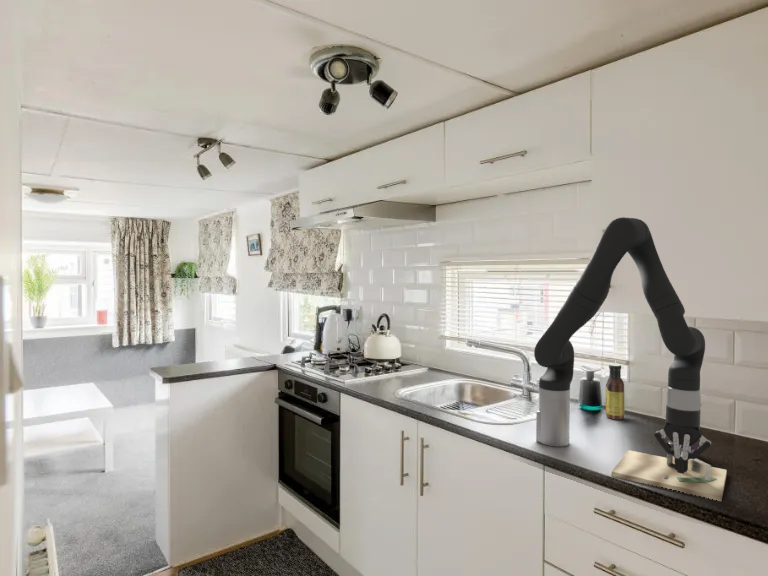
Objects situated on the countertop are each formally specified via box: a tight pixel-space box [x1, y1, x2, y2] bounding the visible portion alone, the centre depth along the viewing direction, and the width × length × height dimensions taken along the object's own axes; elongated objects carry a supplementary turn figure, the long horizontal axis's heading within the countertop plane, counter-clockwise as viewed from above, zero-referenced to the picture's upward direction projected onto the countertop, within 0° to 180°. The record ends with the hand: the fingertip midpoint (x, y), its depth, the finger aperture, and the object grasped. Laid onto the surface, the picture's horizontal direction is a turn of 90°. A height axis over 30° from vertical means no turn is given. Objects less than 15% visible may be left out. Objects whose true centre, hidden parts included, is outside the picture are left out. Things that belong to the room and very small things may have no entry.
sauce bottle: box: [605, 363, 626, 421], centre depth 184 cm, size 6×6×20 cm
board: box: [611, 449, 728, 503], centre depth 132 cm, size 24×20×1 cm
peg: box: [666, 440, 712, 480], centre depth 130 cm, size 14×4×6 cm, turn 10°
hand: (681, 472), depth 128 cm, fingers closed
